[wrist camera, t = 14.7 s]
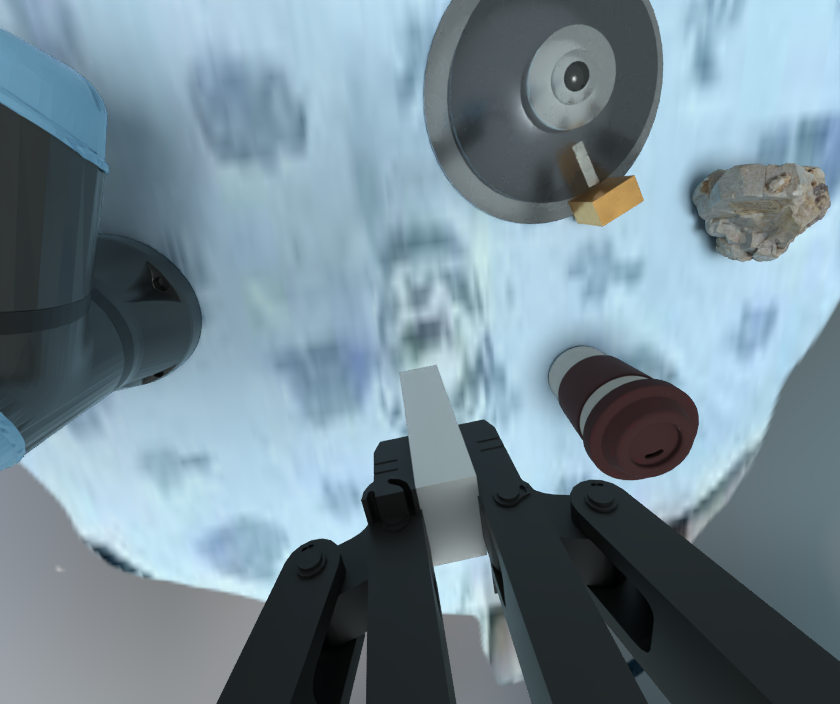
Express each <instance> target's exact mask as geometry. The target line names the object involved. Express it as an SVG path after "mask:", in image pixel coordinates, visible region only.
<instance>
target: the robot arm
mask: <svg viewBox="0 0 840 704" xmlns="http://www.w3.org/2000/svg"><path fill="white" fill-rule="evenodd" d="M106 129H107V112H106V108H105V105H104V102H103V100H102V98H101V97H100V95H99V93H98V92H97V91H96V89H95V88H94V87H93V86H92V85H91V84H90V83H89V81H87V80H86V79H85V78H84V77H83V76H81V75H80V74H79V73H77V72H76V71H75V70H73V69H72V68H70V67H68V66H67V65H65V64H63V63H62V62H60V61H58V60H57V59H55V58H53V57H52V56H50V55H48V54H47V53H45V52H43V51H41V50H40V49H38V48H36V47H34V46H32V45H31V44H29V43H27V42H25V41H24V40H22V39H20V38H18V37H16V36H15V35H13V34H11V33H9V32H7V31H6V30H4V29H2V28H0V471H1V470H3V469H6V468H10V467H12V466H14V465H15V464H17V463H18V462H19V461H20V460H21V459H22V458H23V457H24V455H25V454H27V453H28V452H29V451H31V450H32V449H33V448H35V447H36V446H38V445H39V444H40V443H42V442H43V441H45V440H46V439H47V438H49V437H50V436H52V435H53V434H54V433H56V432H57V431H58V430H60V429H61V428H63V427H64V426H65V425H67V424H68V423H70V422H71V421H72V420H74V419H75V418H77V417H78V416H79V415H81V414H82V413H84V412H85V411H87V410H88V409H89V408H91V407H92V406H94V405H95V404H96V403H98V402H99V401H101V400H102V399H104V398H105V397H106V396H108V395H109V394H110V393H112V392H113V391H117V390H122V389H126V388H130V387H135V386H139V385H143V384H147V383H151V382H154V381H157V380H159V379H161V378H163V377H165V376H167V375H168V374H170V373H171V372H173V371H174V370H175V369H177V368H178V367H179V366H180V365H182V364H183V363H184V362H185V361H186V360H187V359H188V358H189V357H190V356H191V354H192V353H193V351H194V350H195V348H196V346H197V343H198V341H199V337H200V333H201V313H200V308H199V304H198V301H197V298H196V296H195V294H194V291H193V290H192V288H191V286H190V284H189V283H188V281H187V280H186V278H185V277H184V276H183V274H182V273H181V272H180V271H179V270H178V269H177V267H176V266H175V265H174V264H172V263H171V262H170V261H169V260H168V259H167V258H166V257H164V256H163V255H162V254H160V253H159V252H157V251H156V250H154V249H152V248H151V247H149V246H147V245H145V244H143V243H140V242H138V241H135V240H133V239H129V238H126V237H122V236H117V235H108V234H98V233H99V224H100V215H101V205H102V196H103V187H104V178H105V174H108V173H109V166H108V164H107V163H106V162H105V153H106ZM400 380H401V387H402V394H403V401H404V408H405V416H406V423H407V430H408V436H406V437H401V438H397V439H392V440H387V441H382V442H380V443H379V445H378V446H377V448H376V450H375V452H374V482H373V483H371V484H370V485H369V486H368V487H367V488H366V490H365V491H364V492H363V496H362V499H361V501H362V505H363V508H364V511H365V515H366V518H367V522H368V525H367V527H366V528H365V529H364V530H363V531H362V532H361V533H360V534H358V535H357V536H355V537H353V538H352V539H350V540H348V541H346V542H344V543H342V544H340V545H336V544H335V543H334V542H333V541H331V540H327V539H317V540H311V541H309V542H307V543H305V544H303V545H301V546H300V547H299V548H297V549H296V550H295V551H294V552H293V553H292V554H291V555H290V557H289V558H288V559H287V561H286V562H285V564H284V566H283V568H282V570H281V572H280V574H279V576H278V578H277V580H276V582H275V585H274V587H273V589H272V591H271V593H270V595H269V597H268V599H267V601H266V603H265V605H264V607H263V609H262V611H261V614H260V615H259V617H258V620H257V621H256V624H255V626H254V628H253V630H252V632H251V634H250V636H249V638H248V640H247V642H246V644H245V646H244V648H243V650H242V653H241V654H240V656H239V659H238V660H237V663H236V665H235V667H234V669H233V671H232V673H231V675H230V677H229V679H228V681H227V683H226V685H225V687H224V689H223V691H222V693H221V695H220V697H219V699H218V702H217V704H349V701H350V696H351V692H352V688H353V684H354V680H355V676H356V671H357V667H358V663H359V659H360V654H361V650H362V646H363V642H364V638H365V632H367V680H366V681H367V682H366V704H456V698H455V692H454V686H453V680H452V674H451V667H450V662H449V655H448V649H447V643H446V637H445V631H444V624H443V618H442V612H441V606H440V600H439V593H438V587H437V582H436V578H435V573H434V567H433V566H438V565H442V564H447V563H451V562H456V561H461V560H465V559H470V558H474V557H479V556H484V555H487V551H488V554H489V557H490V562H491V569H492V577H493V584H494V591H495V594H496V593H498V595H499V598H500V601H501V605H502V608H503V611H504V614H505V618H506V621H507V624H508V627H509V631H510V634H511V637H512V641H513V644H514V647H515V650H516V654H517V657H518V660H519V663H520V667H521V670H522V673H523V677H524V680H525V683H526V686H527V690H528V693H529V696H530V699H531V703H532V704H648V703H647V701H646V699H645V697H644V695H643V693H642V692H641V690H640V688H639V686H638V684H637V682H636V681H635V678H634V676H633V675H632V673H631V671H630V669H629V667H628V665H627V663H626V661H625V660H624V658H623V656H622V654H621V652H620V650H619V648H618V646H617V645H616V643H615V641H614V639H613V637H612V636H611V633H610V631H609V630H608V628H607V626H606V624H607V625H608V626H609V627H610V628H611V630H612V631H613V632H614V633H615V635H616V636H617V637H618V638H619V640H620V641H621V642H622V643H623V645H624V646H625V647H626V648H627V650H628V651H629V652H630V653H631V654H632V656H633V657H634V658H635V659H636V661H637V662H638V663H639V664H640V666H641V667H642V668H643V669H644V671H645V672H646V673H647V674H648V675H649V677H650V678H651V679H652V680H653V682H654V683H655V684H656V685H657V686H658V688H659V689H660V690H661V692H662V693H663V694H664V695H665V696H666V698H667V699H668V700H669V701H670V703H671V704H840V661H838V660H837V659H836V658H834V657H833V656H832V655H831V654H830V653H828V652H827V651H826V650H824V649H823V648H822V647H821V646H819V645H818V644H817V643H816V642H815V641H813V640H812V639H811V638H809V637H808V636H807V635H805V634H804V633H803V632H802V631H801V630H799V629H798V628H797V627H796V626H794V625H793V624H792V623H791V622H789V621H788V620H787V619H785V618H784V617H783V616H782V615H780V614H779V613H778V612H777V611H775V610H774V609H773V608H772V607H770V606H769V605H768V604H767V603H765V602H764V601H763V600H762V599H760V598H759V597H758V596H757V595H755V594H754V593H753V592H752V591H750V590H749V589H748V588H747V587H745V586H744V585H743V584H741V583H740V582H739V581H738V580H736V579H735V578H734V577H733V576H731V575H730V574H729V573H728V572H726V571H725V570H724V569H723V568H721V567H720V566H719V565H717V564H716V563H715V562H714V561H712V560H711V559H710V558H709V557H707V556H706V555H705V554H704V553H702V552H701V551H700V550H699V549H697V548H696V547H695V546H693V545H692V544H691V543H690V542H689V541H687V540H686V539H685V538H684V537H682V536H681V535H680V534H679V533H677V532H676V531H675V530H674V529H672V528H671V527H670V526H668V525H667V524H666V523H665V522H663V521H662V520H661V519H660V518H658V517H657V516H656V515H655V514H653V513H652V512H651V511H650V510H648V509H647V508H646V507H645V506H643V505H642V504H641V503H640V502H638V501H637V500H636V499H634V498H633V497H632V496H631V495H629V494H628V493H627V492H626V491H624V490H623V489H622V488H620V487H618V486H616V485H615V484H613V483H610V482H606V481H603V480H587V481H583V482H580V483H579V484H577V485H576V486H574V487H573V489H572V491H571V493H570V495H554V494H546V493H542V492H539V491H536V490H534V489H533V488H532V487H531V486H530V485H529V484H528V483H527V482H525V481H523V480H522V479H521V478H520V476H519V474H518V472H517V470H516V468H515V466H514V464H513V462H512V460H511V458H510V456H509V454H508V452H507V450H506V448H505V447H504V445H503V443H502V441H501V439H500V437H499V435H498V433H497V431H496V429H495V427H494V426H492V425H491V424H490V423H488V422H487V421H485V420H479V421H474V422H469V423H465V424H460V425H458V423H457V421H456V418H455V415H454V412H453V410H452V407H451V404H450V401H449V398H448V396H447V393H446V390H445V387H444V385H443V382H442V379H441V376H440V373H439V371H438V368H437V365H434V366H429V367H424V368H419V369H414V370H408V371H403V372H400ZM486 548H487V550H486ZM604 621H605V622H606V624H605V622H604Z"/></svg>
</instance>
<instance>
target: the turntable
mask: <svg viewBox="0 0 840 704" xmlns="http://www.w3.org/2000/svg"><path fill="white" fill-rule="evenodd" d="M576 24H578V25H587V26H590V27H592V28H594V29H596V30H598V31H599V32H600V33H601V34H602V35H603V36H604V37H605V38H606V39H607V41H608V42H609V44H610V46H611V48H612V50H613V54H614V57H615V63H616V77H615V83H614V87H613V91H612V93H611V96H610V98H609V100H608V102H607V104H606V105H605V107H604V108H603V110H602V111H601V112H600V113H599V114H598V115H597V116H596V117H595V118H594V119H593V120H592V121H590V122H589V123H587V124H585V125H583V126H581V127H578V128H576V129H573V130H570V131H568V132H564V133H559V134H552V133H547V132H544V131H542V130H540V129H538V128H537V127H536V126H534V125H533V124H532V123H531V122H530V120H529V119H528V118H527V116H526V114H525V112H524V109H523V107H522V103H521V97H520V85H521V79H522V75H523V71H524V69H525V66H526V64H527V62H528V60H529V59H530V57H531V56H532V54H533V53H534V52H535V51H536V50H537V49H538V48H539V47H540V46H541V45H542V44H543V43H544V42H545V41H546V40H547V39H548V38H549V37H550V36H551V35H552V34H553V33H555V32H556V31H558V30H560V29H562V28H564V27H566V26H570V25H576ZM657 74H658V53H657V44H656V37H655V33H654V29H653V25H652V21H651V19H650V16H649V14H648V11H647V8H646V6H645V4H644V3H643V1H642V0H480V2H479V3H478V4H477V6H476V7H475V9H474V10H473V12H472V14H471V16H470V18H469V19H468V21H467V23H466V25H465V27H464V29H463V31H462V34H461V36H460V38H459V41H458V44H457V46H456V49H455V51H454V55H453V58H452V62H451V66H450V71H449V78H448V86H447V107H448V117H449V122H450V128H451V131H452V135H453V138H454V141H455V144H456V146H457V148H458V150H459V153H460V155H461V157H462V158H463V160H464V162H465V163H466V165H467V166H468V168H469V169H470V170H471V171H472V173H473V174H474V175H475V176H476V177H477V178H478V179H479V180H480V181H481V182H482V183H483V184H484V185H486V186H487V187H488V188H490V189H491V190H493V191H494V192H496V193H498V194H500V195H502V196H504V197H506V198H510V199H513V200H516V201H521V202H527V203H551V202H559V201H563V200H567V199H570V198H573V197H575V198H573V199H572V200H570V201H569V202H568V203H569V205H570V208H571V210H572V212H573V214H574V217H575V219H576V221H577V223H579V224H587V225H595V226H604V225H606V224H608V223H609V222H611V221H612V220H614V219H615V218H617V217H619V216H620V215H622V214H623V213H625V212H627V211H628V210H630V209H631V208H633V207H635V206H636V205H638V204H639V203H641V202H642V201H644V199H643V197H642V194H641V191H640V189H639V186H638V183H637V181H636V178H635V175H633V176H622V177H612V178H607V177H608V176H609V175H610V174H611V173H613V172H614V171H615V170H616V169H617V168H618V167H619V165H620V164H621V163H622V162H623V161H624V160H625V158H626V157H627V156H628V154H629V153H630V151H631V150H632V149H633V147H634V146H635V144H636V142H637V140H638V138H639V137H640V135H641V133H642V131H643V129H644V126H645V124H646V122H647V119H648V117H649V114H650V110H651V107H652V104H653V100H654V95H655V90H656V84H657Z"/></svg>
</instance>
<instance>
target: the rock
mask: <svg viewBox="0 0 840 704" xmlns="http://www.w3.org/2000/svg"><path fill="white" fill-rule="evenodd" d="M824 178H825V174H824V173H823V171H822V170H821V169H820V168H819V167H811V166H799V165H797V164H795V163H786V164H783V165H779V166H778V165H776V164H775V165H770V164H769V165H768V166H764V165H761V164H747V165H738V166H734V167H732V168H731V169H729V170H716V171H714V172H713V173H712V174H710V175H709V176H707V177H706V178H705V179H704V180H703V181H702V182H701V183H700V184H699V185H698V186H697V188H696V189H695V190H694V193H693V196H692V200H693V202H694V204H695V206H696V207H697V210H698V215H699V216H700V217H701V218H702V219H704V220H705V226H706V231H707V233H708V234H709V235H711V236H715V237H717V239H716V243H717V245H716V250H717V251H718V253H719V254H722V255H723V256H725V257H728V258H729V259H732V260H738V261H742V262H744V261H747V260H748V261H750V260H751V259H754V260H756V261H760V262H762V261H771V260H774V259H776V258H778V257H779V256H780V255H781V254H783V253H784V252H786V251H787V249H788V246H789V244H790V243H791V242H793V241H794V239H795V237H796V236H798V235H799V234H802V233H803V232H804V231H805V229H807V228H808V227H810V226H811V225H813V224H814V223H815V222H817V221H818V220H821V219H822V218H823V217H824V216H825V214H826V212H827V209H828V208H829V207H830V205H831V202H830V198H829V193H828V186H826V185H825V179H824Z"/></svg>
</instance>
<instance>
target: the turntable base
mask: <svg viewBox="0 0 840 704" xmlns="http://www.w3.org/2000/svg"><path fill="white" fill-rule="evenodd" d="M642 1H643V3H644V4H645V6H646V8H647V11H648V14H649V16H650V19H651V21H652V25H653V29H654V33H655V37H656V44H657V53H658V74H657V84H656V90H655V95H654V100H653V104H652V107H651V110H650V114H649V117H648V119H647V122H646V124H645V126H644V129H643V131H642V133H641V135H640V137H639V138H638V140H637V142H636V144H635V146H634V147H633V149H632V150H631V151H630V153H629V154H628V156H627V157H626V158H625V160H624V161H623V162H622V163H621V164H620V165H619V167H618V168H617V169H616V170H615V171H614V172H613V173H611V174H610V175H609V176H608V177H607V178H612V177H622V176H624V175H625V174H626V173H627V171H628V170H629V169H630V168H631V166H632V165H633V163H634V162H635V160H636V158H637V157H638V155H639V154H640V152H641V150H642V148H643V146H644V144H645V142H646V140H647V138H648V136H649V133H650V131H651V128H652V125H653V123H654V120H655V117H656V113H657V109H658V105H659V101H660V95H661V88H662V79H663V53H662V43H661V37H660V32H659V27H658V23H657V20H656V17H655V14H654V10H653V8H652V6H651V4H650V1H649V0H642ZM479 2H480V0H452V1H451V3H450V5H449V6H448V8H447V10H446V12H445V13H444V15H443V17H442V19H441V22H440V24H439V26H438V29H437V31H436V33H435V36H434V39H433V43H432V46H431V49H430V53H429V56H428V62H427V67H426V73H425V82H424V113H425V120H426V126H427V132H428V135H429V139H430V142H431V146H432V149H433V151H434V154H435V156H436V159H437V161H438V163H439V165H440V167H441V168H442V170H443V172H444V174H445V176H446V177H447V178H448V180H449V181H450V182H451V184H452V185H453V186H454V188H455V189H456V190H457V191H458V192H459V193H460V194H461V195H462V196H463V197H464V198H465V199H466V200H467V201H469V202H470V203H471V204H473V205H474V206H475V207H476V208H478V209H480V210H482V211H483V212H485V213H487V214H489V215H491V216H494V217H496V218H499V219H502V220H506V221H510V222H515V223H524V224H539V223H548V222H553V221H558V220H561V219H564V218H567V217H570V216H572V215H574V214H573V212H572V210H571V208H570V205H569V203H568V202H569V201H570V200H572V199H573V198H575V197H573V198H570V199H567V200H563V201H559V202H551V203H527V202H521V201H516V200H513V199H510V198H506V197H504V196H502V195H500V194H498V193H496V192H494V191H493V190H491V189H490V188H488V187H487V186H486V185H484V184H483V183H482V182H481V181H480V180H479V179H478V178H477V177H476V176H475V175H474V174H473V173H472V171H471V170H470V169H469V168H468V166H467V165H466V163H465V162H464V160H463V158H462V157H461V155H460V153H459V150H458V148H457V146H456V144H455V141H454V138H453V135H452V131H451V128H450V122H449V117H448V107H447V86H448V78H449V71H450V66H451V62H452V58H453V55H454V51H455V49H456V46H457V44H458V41H459V38H460V36H461V34H462V31H463V29H464V27H465V25H466V23H467V21H468V19H469V18H470V16H471V14H472V12H473V10H474V9H475V7H476V6H477V4H478V3H479Z"/></svg>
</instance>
